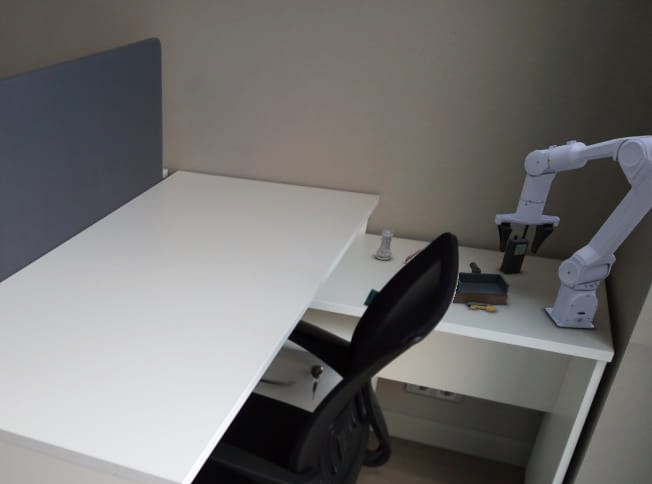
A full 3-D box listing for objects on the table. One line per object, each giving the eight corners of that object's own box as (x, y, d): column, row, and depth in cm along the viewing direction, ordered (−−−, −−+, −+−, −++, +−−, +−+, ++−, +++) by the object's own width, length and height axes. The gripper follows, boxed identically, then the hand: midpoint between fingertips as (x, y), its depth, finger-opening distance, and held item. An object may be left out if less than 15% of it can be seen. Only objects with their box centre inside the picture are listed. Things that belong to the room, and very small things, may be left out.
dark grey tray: (506, 295, 181) (511, 280, 179) (456, 293, 182) (460, 278, 180) (493, 277, 190) (497, 262, 188) (445, 275, 192) (449, 260, 190)
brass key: (495, 310, 178) (494, 312, 179) (495, 306, 180) (494, 308, 180) (470, 307, 180) (470, 309, 181) (470, 303, 182) (470, 305, 182)
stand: (505, 304, 182) (508, 295, 181) (451, 302, 184) (454, 293, 183) (496, 291, 189) (499, 283, 187) (444, 289, 190) (447, 280, 189)
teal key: (469, 304, 181) (469, 302, 181) (465, 303, 183) (466, 301, 183) (490, 306, 181) (491, 304, 180) (487, 305, 183) (487, 303, 182)
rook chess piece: (372, 255, 210) (377, 228, 206) (387, 254, 211) (392, 228, 206) (378, 261, 207) (383, 234, 202) (393, 260, 207) (399, 233, 203)
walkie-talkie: (505, 274, 198) (521, 221, 190) (498, 269, 201) (513, 216, 193) (521, 272, 199) (538, 219, 191) (514, 267, 202) (530, 215, 193)
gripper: (558, 195, 181) (541, 246, 188) (497, 193, 183) (483, 244, 190) (568, 204, 175) (551, 257, 182) (505, 202, 177) (491, 254, 184)
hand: (517, 251), depth 186 cm, fingers open, 7 cm apart
